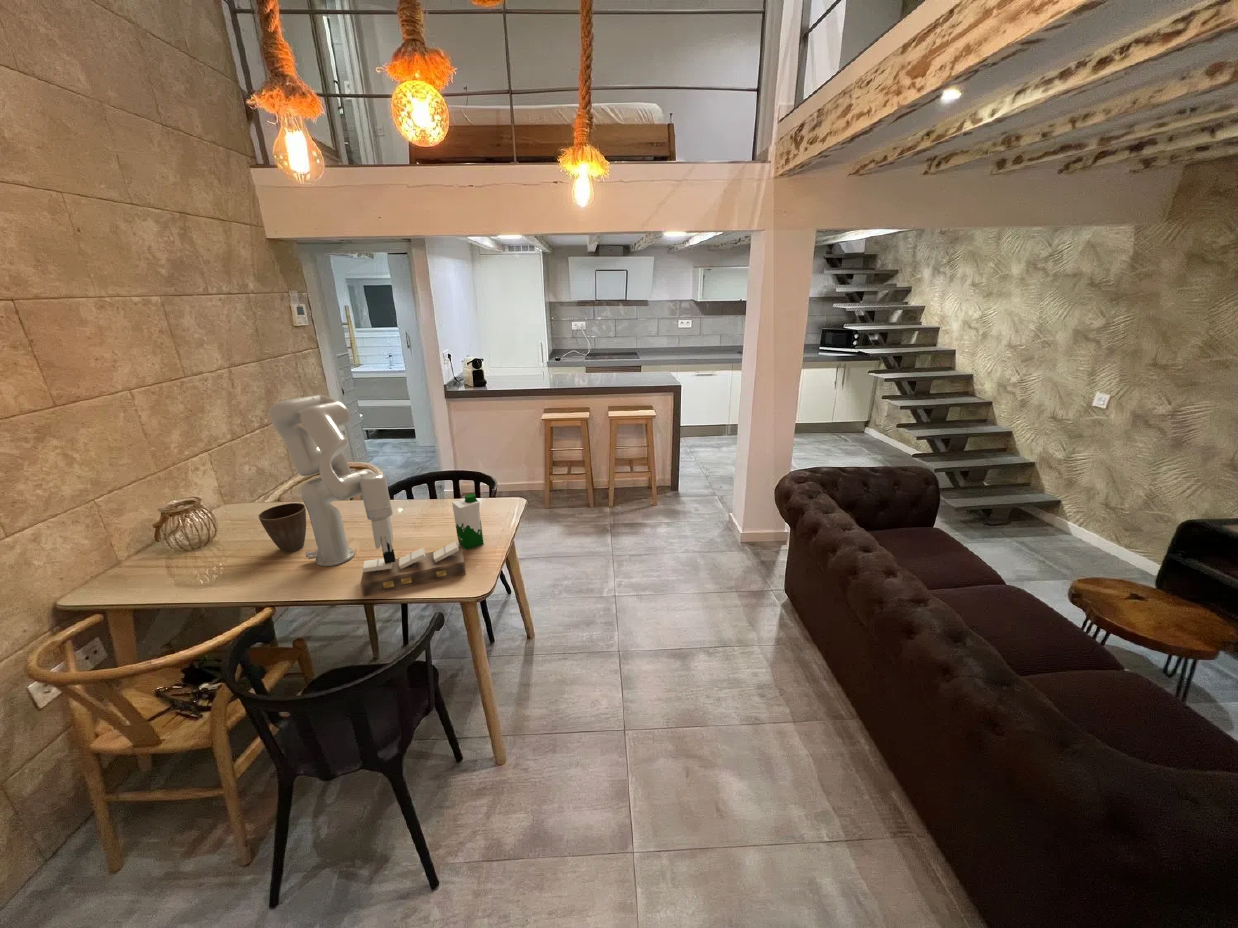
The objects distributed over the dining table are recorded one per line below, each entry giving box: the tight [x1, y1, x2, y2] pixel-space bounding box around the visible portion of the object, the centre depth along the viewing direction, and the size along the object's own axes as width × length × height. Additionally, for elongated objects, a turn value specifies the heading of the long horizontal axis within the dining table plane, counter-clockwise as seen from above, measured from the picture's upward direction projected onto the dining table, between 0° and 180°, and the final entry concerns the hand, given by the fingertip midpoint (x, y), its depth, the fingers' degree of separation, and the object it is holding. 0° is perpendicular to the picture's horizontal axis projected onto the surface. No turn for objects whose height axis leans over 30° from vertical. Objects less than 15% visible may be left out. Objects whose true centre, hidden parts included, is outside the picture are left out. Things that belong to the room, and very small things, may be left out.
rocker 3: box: [433, 540, 459, 562], centre depth 169 cm, size 8×5×2 cm, turn 112°
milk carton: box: [451, 493, 485, 551], centre depth 185 cm, size 9×9×20 cm
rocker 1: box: [362, 558, 392, 573], centre depth 161 cm, size 8×5×2 cm, turn 112°
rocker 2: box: [399, 547, 426, 569], centre depth 165 cm, size 8×5×2 cm, turn 112°
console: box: [360, 545, 467, 597], centre depth 166 cm, size 32×12×6 cm, turn 112°
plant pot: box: [257, 502, 307, 554], centre depth 186 cm, size 15×15×16 cm
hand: (390, 561), depth 162 cm, fingers closed
